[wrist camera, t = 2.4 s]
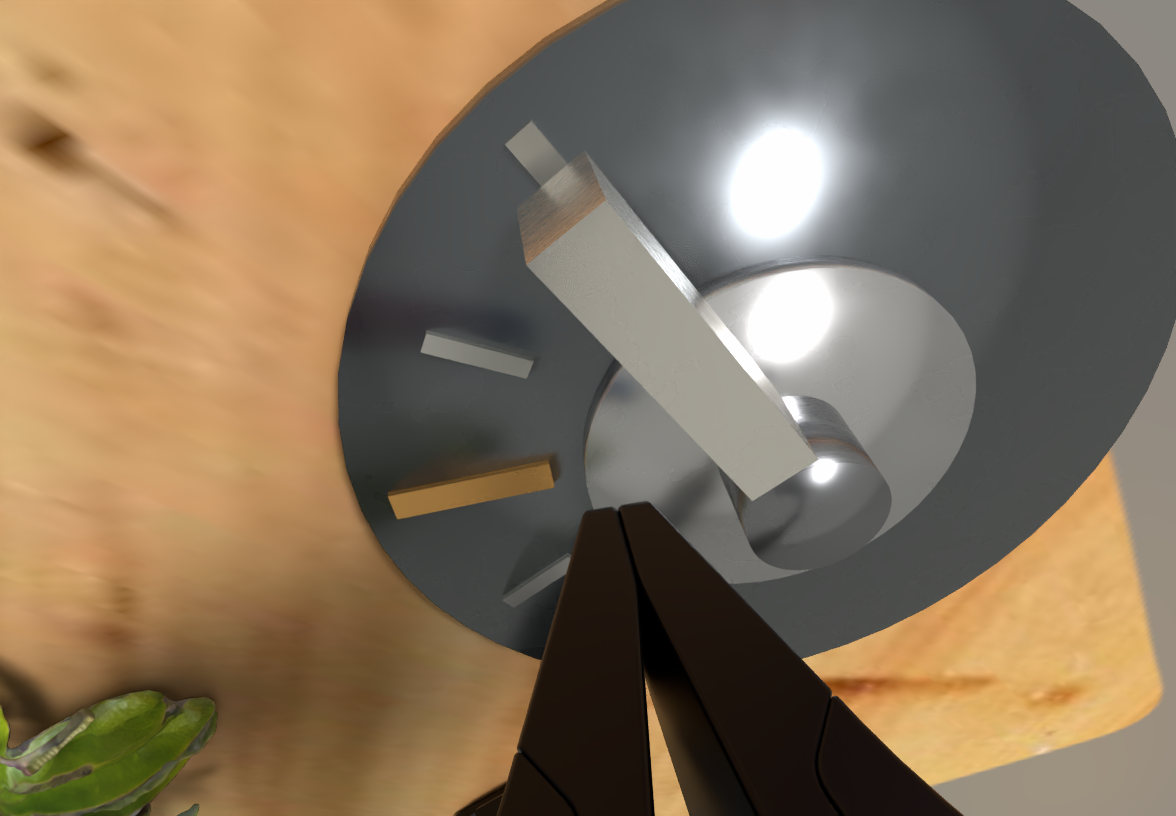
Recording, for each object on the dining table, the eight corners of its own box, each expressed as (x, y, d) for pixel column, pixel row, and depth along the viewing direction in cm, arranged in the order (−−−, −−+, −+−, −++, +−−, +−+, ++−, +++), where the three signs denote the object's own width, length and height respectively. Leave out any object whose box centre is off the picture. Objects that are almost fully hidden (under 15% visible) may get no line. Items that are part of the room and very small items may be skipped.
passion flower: (117, 657, 35) (-140, 939, 28) (-41, 528, 27) (-458, 878, 20) (304, 765, 31) (60, 1122, 24) (184, 652, 23) (-233, 1138, 16)
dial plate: (1228, 416, 28) (1255, 436, 27) (661, 728, 35) (666, 752, 34) (1007, -395, 14) (1048, -414, 13) (143, 399, 21) (127, 425, 20)
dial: (1013, 436, 25) (1089, 516, 22) (714, 611, 28) (745, 702, 25) (763, -18, 16) (836, 13, 13) (367, 320, 19) (350, 407, 16)
